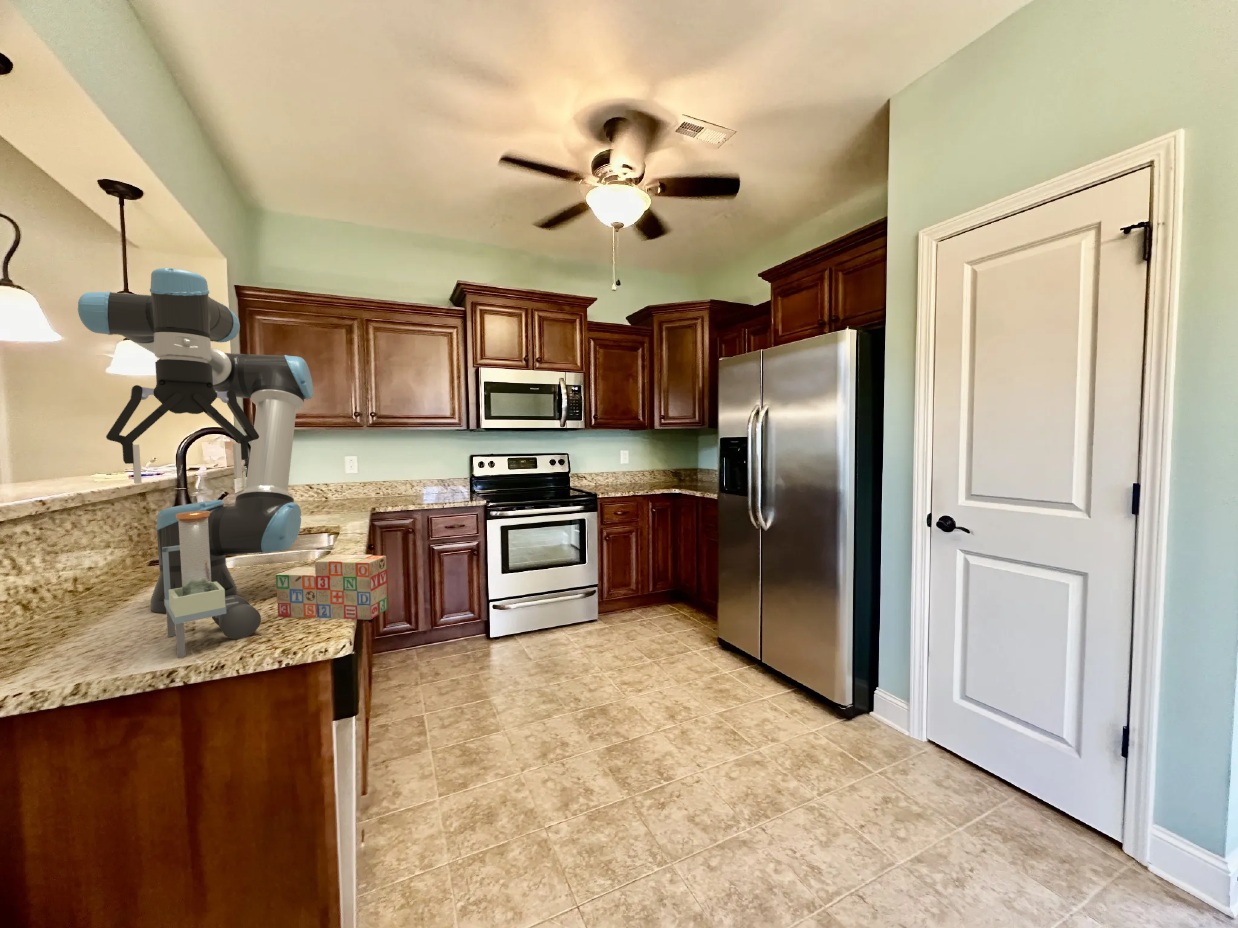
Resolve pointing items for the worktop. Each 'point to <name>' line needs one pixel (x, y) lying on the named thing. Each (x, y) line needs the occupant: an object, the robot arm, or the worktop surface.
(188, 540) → the orange capped bottle
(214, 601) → the tray
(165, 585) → the cart
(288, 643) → the worktop surface
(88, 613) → the worktop surface
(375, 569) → the stack of blocks
